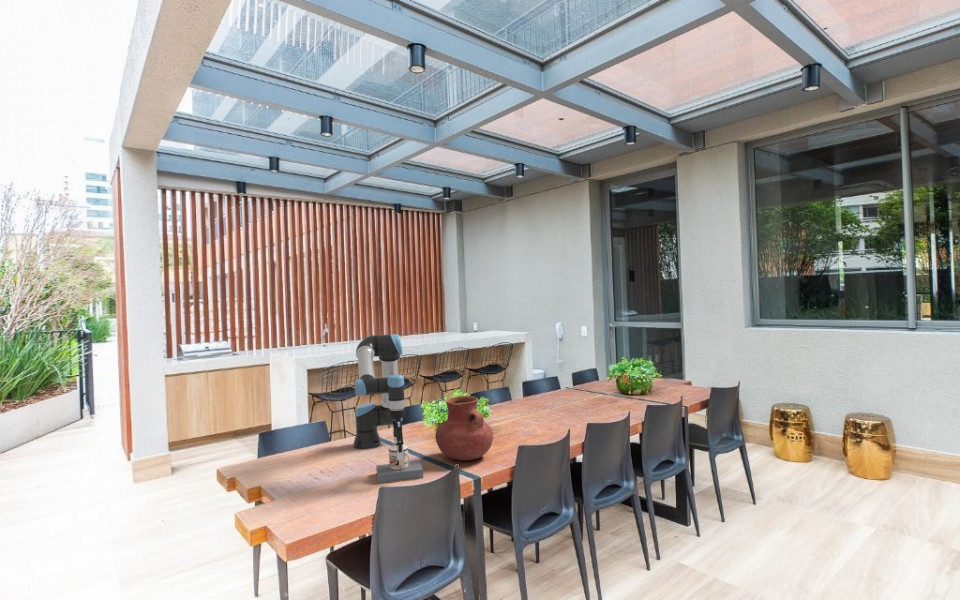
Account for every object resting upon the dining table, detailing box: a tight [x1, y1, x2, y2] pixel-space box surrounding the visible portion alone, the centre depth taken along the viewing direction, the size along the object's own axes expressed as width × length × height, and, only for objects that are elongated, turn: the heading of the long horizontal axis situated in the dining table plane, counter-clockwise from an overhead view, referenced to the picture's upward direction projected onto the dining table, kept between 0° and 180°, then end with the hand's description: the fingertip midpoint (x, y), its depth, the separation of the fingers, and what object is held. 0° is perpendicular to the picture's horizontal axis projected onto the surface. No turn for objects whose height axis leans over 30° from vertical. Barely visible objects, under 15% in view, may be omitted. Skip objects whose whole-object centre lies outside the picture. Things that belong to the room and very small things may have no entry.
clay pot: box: [435, 395, 494, 461], centre depth 255 cm, size 30×29×30 cm
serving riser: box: [375, 459, 424, 485], centre depth 231 cm, size 14×20×4 cm
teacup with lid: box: [387, 442, 411, 470], centre depth 231 cm, size 12×9×12 cm
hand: (398, 454), depth 232 cm, fingers open, 13 cm apart
